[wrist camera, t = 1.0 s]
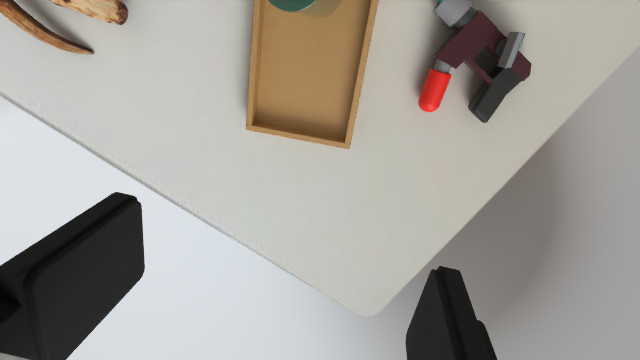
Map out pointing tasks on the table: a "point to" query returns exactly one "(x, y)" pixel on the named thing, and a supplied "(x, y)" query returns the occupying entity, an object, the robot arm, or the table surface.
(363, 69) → the tray
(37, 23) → the lashed bone hook
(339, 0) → the green bottle
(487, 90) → the toy gun
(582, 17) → the table surface
